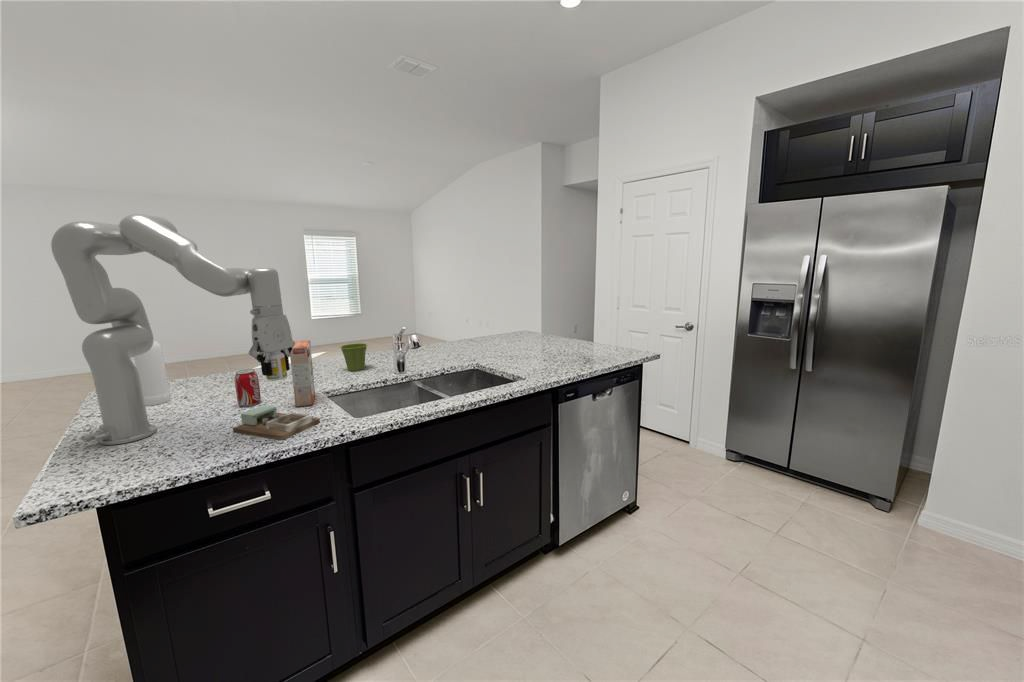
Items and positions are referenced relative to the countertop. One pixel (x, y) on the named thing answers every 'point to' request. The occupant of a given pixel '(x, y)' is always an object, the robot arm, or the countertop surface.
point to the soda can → (247, 387)
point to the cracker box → (302, 373)
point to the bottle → (153, 375)
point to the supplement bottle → (277, 366)
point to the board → (278, 425)
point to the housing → (257, 414)
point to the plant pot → (354, 356)
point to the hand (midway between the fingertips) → (276, 372)
